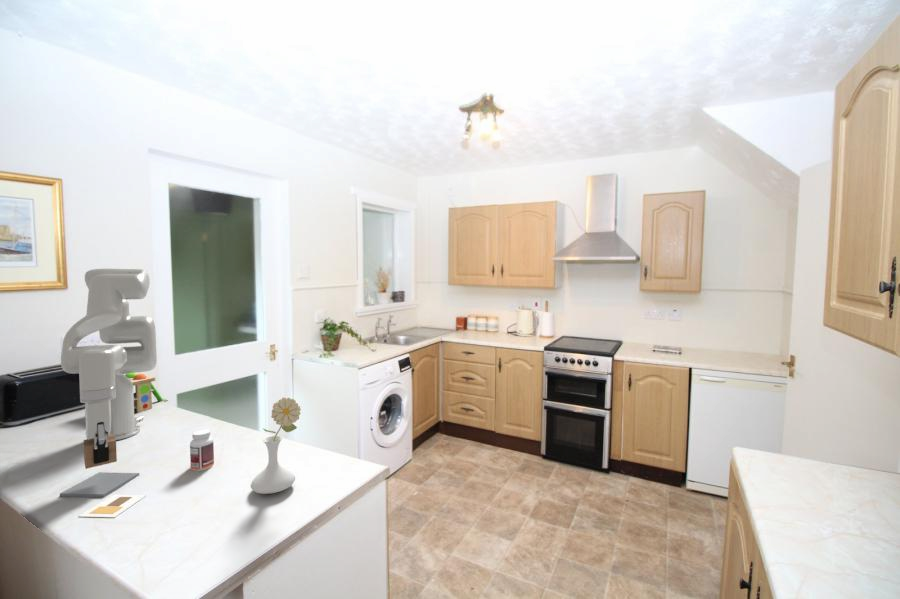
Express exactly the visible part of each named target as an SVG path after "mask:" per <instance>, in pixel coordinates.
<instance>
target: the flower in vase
mask: <svg viewBox="0 0 900 599" xmlns="http://www.w3.org/2000/svg"><path fill="white" fill-rule="evenodd" d="M272 405H273V406H272V410H271V416H270V417H271V418H272V419H273V422H275V424H276V425H280V427H279V428H278V430H277V432H276V431H274V430H270V429H269V430H268V429H265V428H262V429H263V430H264V432H267V433H272V434H275V435H269V436H267V437H264V438H263V439H262V442H263V443H264V444H265V445H266V448H267V453H268V462H267V466H266V467H265V468H263V470H261V471H260V472H259V473H257V475H256V476H255V477H254V478H253V479H252V480H251V483H250V489H251V490H252V491H253V492H254V493H257V494H260V495H261V494H262V495H267V494H269V495H270V494H276V493H279V492H283V491H285V490H287V489H288V488H290V487H291V486H292V485H293V484H294V482H295V480H296V475H295V474H294V473H293V471H291V470H289V469H288V468H287V467H284V466H282V465H281V464H279V462H278V451H279V450H278V449H279V446H280V443H281V441H282V440H283V436H281V435H278V434H279V432H280V430H281V429H282V431H284V432H285V433H290V432H293V431H295V430H296V429H298V427H297V426H296V425H295V424H294V423H296V422H297V421H298V420H299V419H300V415H301V410H302V409H301V406H300V405H299V403H298V402H297V401H296V399H294V398H290V397H282V398H280V399H278V401H276V402H275V403H273V404H272Z"/></svg>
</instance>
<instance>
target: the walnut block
mask: <svg viewBox="0 0 900 599" xmlns="http://www.w3.org/2000/svg"><path fill="white" fill-rule="evenodd" d="M97 441H98V440H97ZM107 441H108V446H109V461H106V462H102V463H97V464H94V459H93V449H94V438H90V440H88V439H87V438H86V439H83V459H84V460H83V461H84V467H85V468H84V469H85V470H87V469H91V468H95V467H99V466H104V465H108V464H112V463H116V462H117V459H118V457H117V455H118V454H117V440H116V439H115V436H114V434H112V435H109V436H107Z"/></svg>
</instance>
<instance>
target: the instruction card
mask: <svg viewBox="0 0 900 599" xmlns="http://www.w3.org/2000/svg"><path fill="white" fill-rule="evenodd" d="M146 496H147V495H145V494H143V495H142V494H141V495H140V494H139V495H137V494H136V495H135V494H134V495H133V494H130V495H129V494H112V495H110V496H109V497H107V498H106V499H104V500H102V501H101V502H99V503H97V504H95V505H93V507H90V509H88V510H86V511H84V512H83V513H81V514H79V515H78V516H77V517H78V518H106V519H107V518H114V519H115V518H116V517H118V516H119V515H121V514H122V513H124V512H125V511H127V510H128V509H130V508H131V507H133V506H134V505H135V504H137V503H138V502H140V501H141V500H142V499H145V497H146Z"/></svg>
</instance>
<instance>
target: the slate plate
mask: <svg viewBox="0 0 900 599" xmlns="http://www.w3.org/2000/svg"><path fill="white" fill-rule="evenodd" d="M139 476H140V472H139V473H138V472H102V471H101V472H100V471H99V472H97V473H95V474H94V475H92V476H90V477H88V478H85V480H84V479H83V480H82V481H80V482H79V483H76V484H75V485H72V486H71V487H69V488H67V489H66V490H63V491H61V492H60V493H59V497H67V498H69V497H75V498H105V497H107V496H108V495H111V494H112V493H114V492H115V491H117V490H119V489H120V488H122V487H124V486H125V485H126V484H129V483H130V482H131V481H133V480H134V479H136V478H137V477H139Z"/></svg>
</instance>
